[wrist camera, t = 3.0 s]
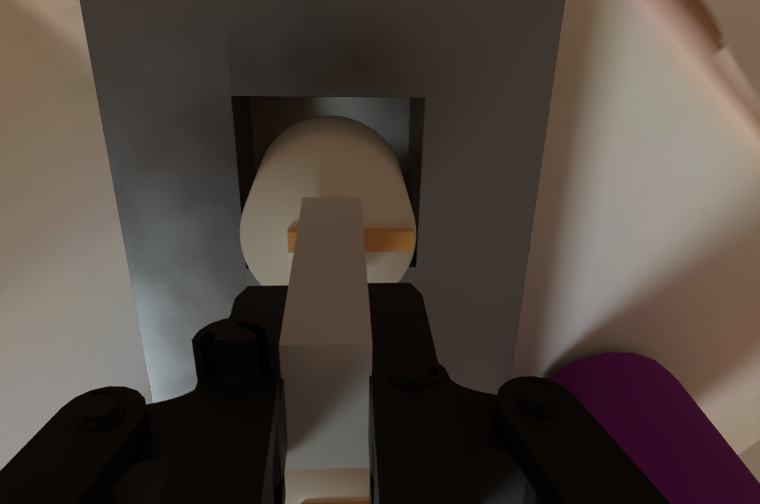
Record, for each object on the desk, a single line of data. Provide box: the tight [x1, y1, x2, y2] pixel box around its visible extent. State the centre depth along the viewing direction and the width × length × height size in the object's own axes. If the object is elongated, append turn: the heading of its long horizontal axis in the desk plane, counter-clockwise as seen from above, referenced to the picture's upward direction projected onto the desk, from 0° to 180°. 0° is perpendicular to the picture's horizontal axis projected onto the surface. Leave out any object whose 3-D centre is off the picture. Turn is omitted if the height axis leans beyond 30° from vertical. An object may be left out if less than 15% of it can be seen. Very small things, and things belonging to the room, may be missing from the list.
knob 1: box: [240, 116, 416, 286], centre depth 18 cm, size 5×5×4 cm
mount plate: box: [80, 0, 565, 403], centre depth 24 cm, size 14×22×4 cm, turn 179°
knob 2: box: [284, 463, 370, 504], centre depth 22 cm, size 5×5×4 cm
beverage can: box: [550, 352, 760, 504], centre depth 25 cm, size 8×8×12 cm
